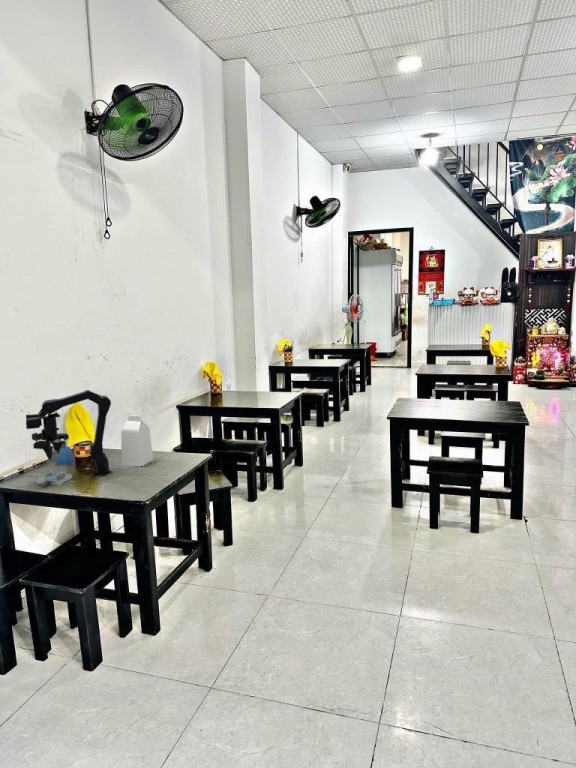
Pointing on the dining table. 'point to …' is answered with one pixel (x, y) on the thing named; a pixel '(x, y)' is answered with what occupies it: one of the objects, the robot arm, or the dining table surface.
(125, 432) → the milk
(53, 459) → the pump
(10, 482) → the dining table surface
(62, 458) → the perfume bottle
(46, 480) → the motor block
